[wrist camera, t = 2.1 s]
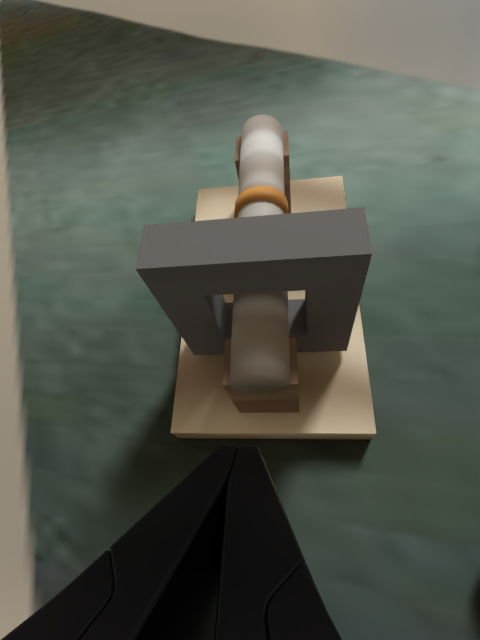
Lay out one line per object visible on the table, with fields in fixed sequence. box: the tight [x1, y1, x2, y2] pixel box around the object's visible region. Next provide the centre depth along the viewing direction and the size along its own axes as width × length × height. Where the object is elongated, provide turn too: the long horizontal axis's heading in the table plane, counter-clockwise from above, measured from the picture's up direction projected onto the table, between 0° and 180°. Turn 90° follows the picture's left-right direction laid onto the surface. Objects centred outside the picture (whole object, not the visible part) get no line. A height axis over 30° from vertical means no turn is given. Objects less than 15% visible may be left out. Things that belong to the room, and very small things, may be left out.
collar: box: [136, 207, 372, 355], centre depth 16 cm, size 2×8×8 cm, turn 88°
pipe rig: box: [170, 115, 376, 439], centre depth 20 cm, size 17×10×7 cm, turn 178°
